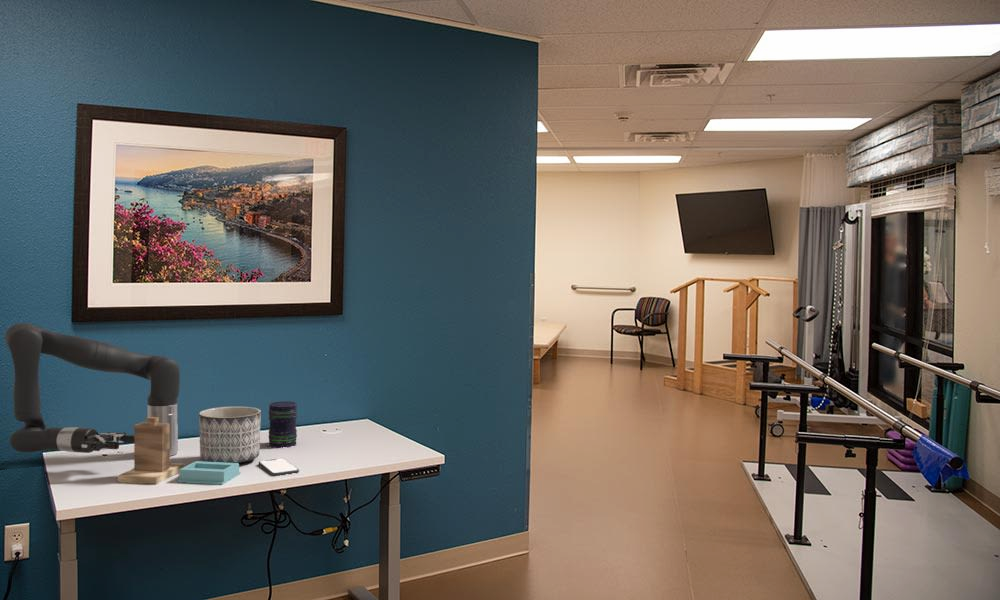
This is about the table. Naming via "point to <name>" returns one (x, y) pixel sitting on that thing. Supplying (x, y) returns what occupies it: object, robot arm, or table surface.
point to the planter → (229, 434)
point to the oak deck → (149, 475)
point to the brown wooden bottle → (151, 445)
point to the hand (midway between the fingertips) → (126, 442)
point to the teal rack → (208, 472)
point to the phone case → (278, 467)
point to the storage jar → (282, 424)
